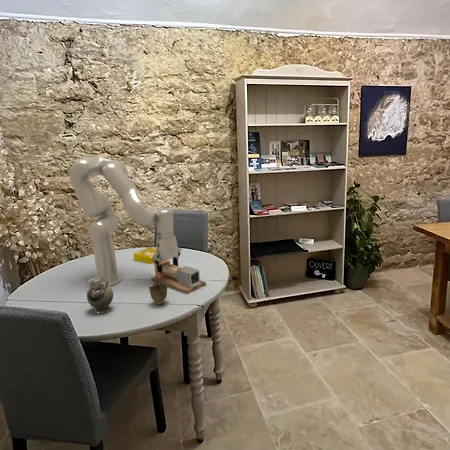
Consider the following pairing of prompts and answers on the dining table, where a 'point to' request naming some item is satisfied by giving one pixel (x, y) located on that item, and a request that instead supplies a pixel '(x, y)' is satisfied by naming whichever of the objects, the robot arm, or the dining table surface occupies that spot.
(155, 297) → the cup
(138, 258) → the element tile
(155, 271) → the terracotta socket
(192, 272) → the metal sleeve
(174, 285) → the walnut board
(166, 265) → the tube
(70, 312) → the dining table surface
